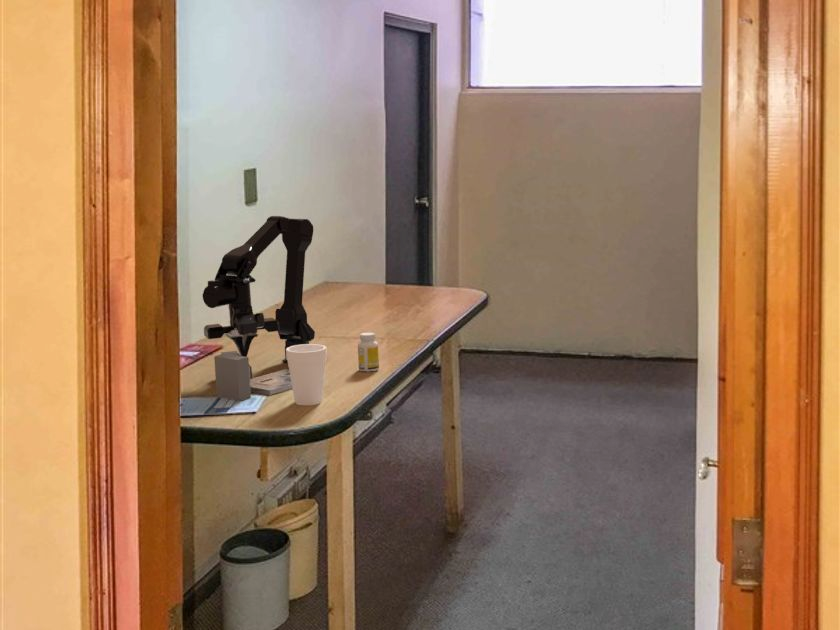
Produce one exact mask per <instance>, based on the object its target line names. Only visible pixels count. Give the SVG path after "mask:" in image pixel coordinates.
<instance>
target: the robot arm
mask: <svg viewBox="0 0 840 630" xmlns="http://www.w3.org/2000/svg"><path fill="white" fill-rule="evenodd" d="M279 235H281V240H282V243H283V245H284V248H285V249H286V262H285V264H286V265H285V278H284V280H285V281H284V296H283V304H282V305H281V307H280V308H275V309H276V310H275V313H274V314H275V318H273V317H266V318H265V315H264V313H263V312H259V313H255V314H254V312H253V306H252V298H251V297H252V296H251V284H252V283H255V282H256V279H255V277H252V275H251V273H252V272H253V270H254V269H255V268H256V266H257V264H258V258H259V257H260V255H262V253H263V252H264V251H266V249H267V248H268V247H269V246H270V245H271V244H272V243H273V242H274V241H275V240H276V239H277V238H278V237H279ZM313 235H314V224H312V222H311V221H310V220H309V219H308V218H307V219H306V218H289V217H286V216H283V215H282V216H281V215H270V216H269V217H268V218H266V221H265V222H264V223H263V224H262V225H261V227H260V228H258V229H257V231H255V233H254V234H253V235H252V236H250V238H248V240H246V241H245V242H244V243H243V244H242V245H240V246H238V247H235V248H233V249H231V250H230V251H228V252H227V253H225V254H224V255H223V257H222V259H221V262H220V264H219V268H218V270H217V272H216V274H215V277H214V280H212V279H211V280H208V281H207V285H206V287H205V288H204V289H203V291H202V292H203V293H202V301H203V303H204V304H205V306H206V307H208V308H210V309H215V308H219V307H223V306H228V313H229V314H228V315H229V325H225V326H223V325H221V324H220V323H213V324H206V325H205V326H204V327H203V335H204V337H205V338H207V339H208V340H214V339H221V338H222V337H223V336H224V335H225V334H226V337H227V338H228V339H230V340H232V341H233V342H234V344H235V346H236V348H237V352H238V353H239V354H240V355H241V356H244V357H248V353H249V350H250V347H251V343H252V341H253V340H254V339H255V338H257V337H258V336H259V334H258V331H259V330H265V331H266V332H268V333H272V332H277V334H278V337H279V339H280V340H284V344H285V345H284V359H281V362H282V363H288V361H287V359H286V349H287V348H288V347H291V346H295V345H301V344H310V342H311V341H313V340H314V339H315V333H316V331H315V330H314V329H313V328H312V326H311V325H310V324H309V323H308V314H307V311H306V309H305V307H304V305H303V295H304V294H303V291H304V279H305V276H304V275H305V265H306V264H305V263H306V262H305V260H306V252H307V250H308V248H309V246H311V244H312V242H313V241H312V240H313Z"/></svg>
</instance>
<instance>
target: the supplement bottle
mask: <svg viewBox="0 0 840 630" xmlns="http://www.w3.org/2000/svg"><path fill="white" fill-rule="evenodd" d="M359 339H360V341H359V342H358V343H357V354H358V355H357V356H358V370H359V371H360V372H362V371H366V372H367V373H370V371H373V372H376V371H379V369H380V360H379V359H380V358H379V355H380V354H379V343H378V342H377V341H375V340H376V333H374V332H363V333H360V335H359Z"/></svg>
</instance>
